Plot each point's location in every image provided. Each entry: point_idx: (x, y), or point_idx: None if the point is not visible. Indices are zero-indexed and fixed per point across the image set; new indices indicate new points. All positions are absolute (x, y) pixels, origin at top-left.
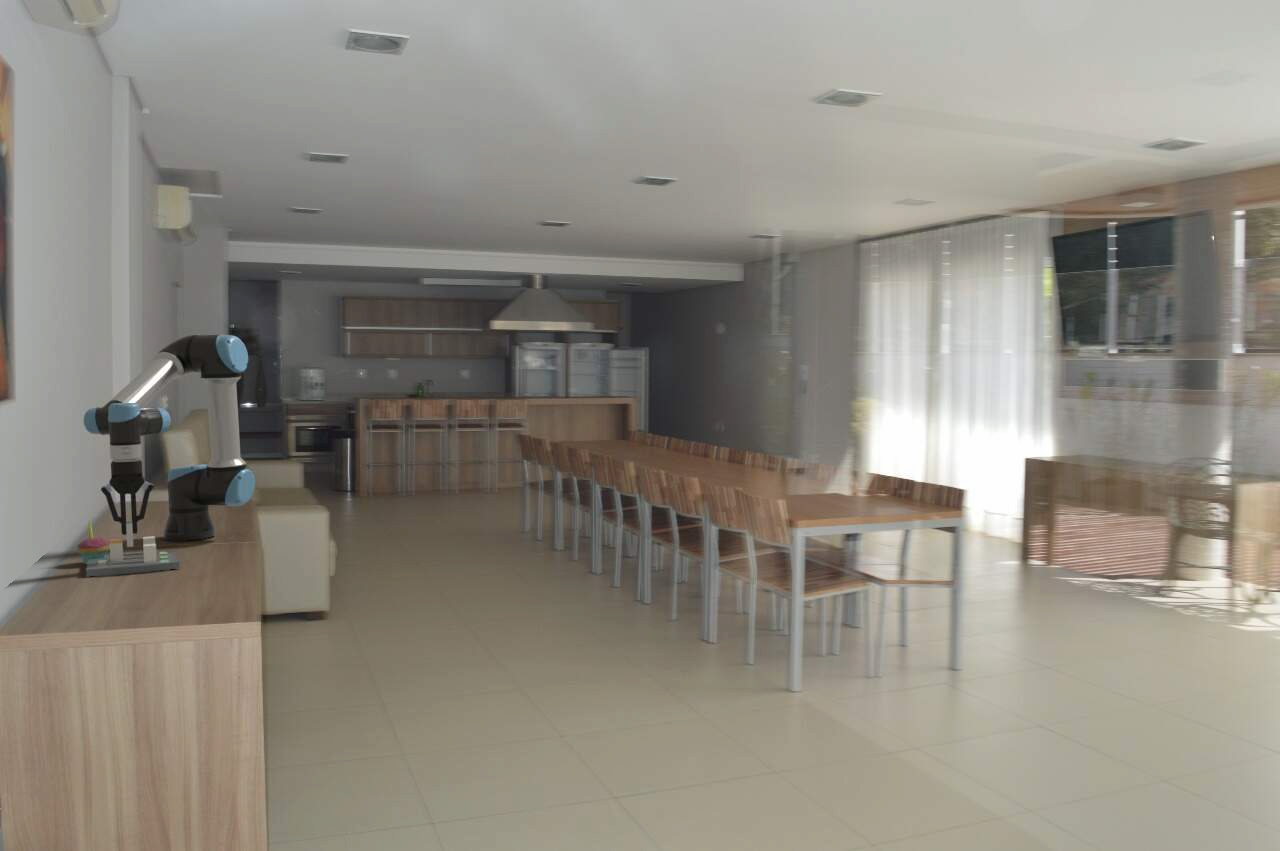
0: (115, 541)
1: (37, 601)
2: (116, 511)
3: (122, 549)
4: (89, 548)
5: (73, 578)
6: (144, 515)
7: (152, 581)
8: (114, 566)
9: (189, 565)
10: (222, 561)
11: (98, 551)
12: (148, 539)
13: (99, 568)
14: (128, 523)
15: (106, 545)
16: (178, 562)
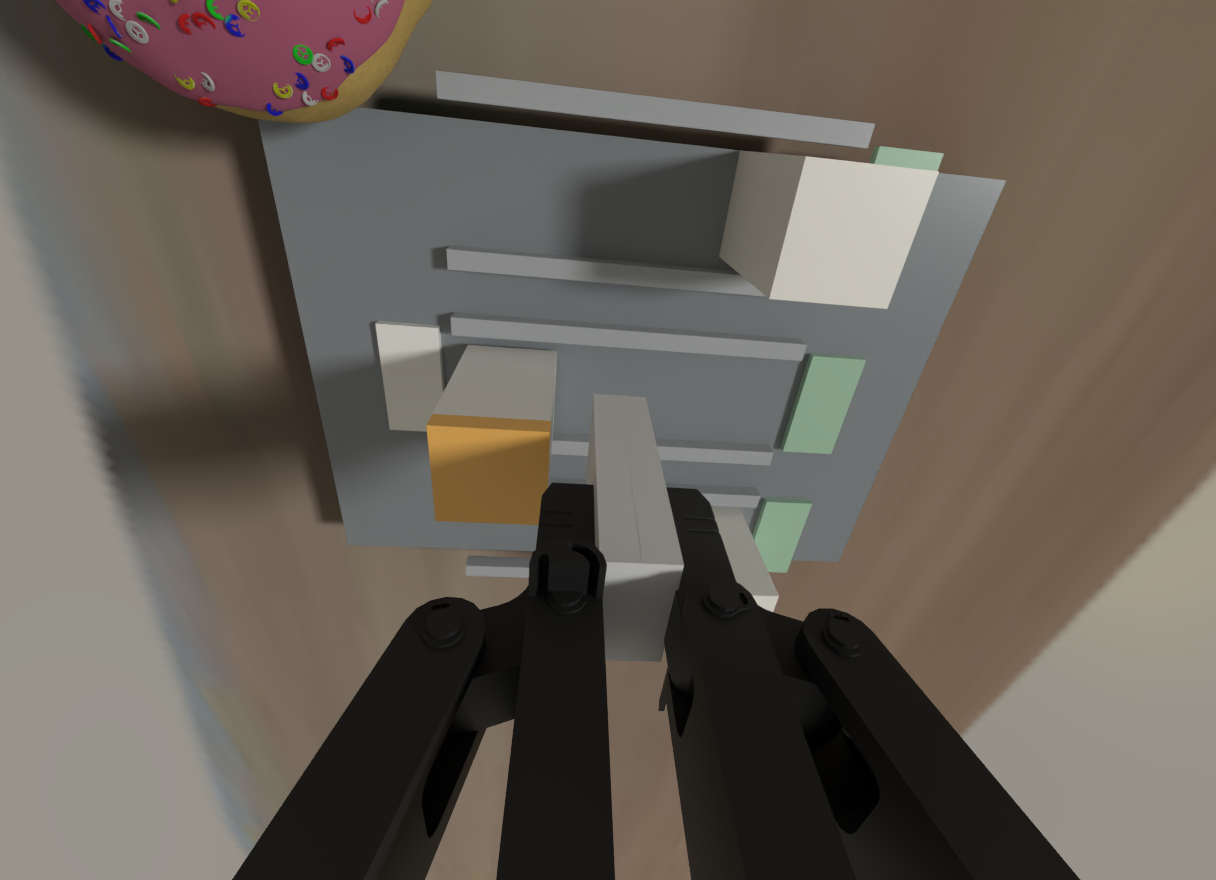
0: (487, 520)
1: (279, 790)
2: (425, 781)
3: (549, 477)
4: (197, 99)
5: (297, 508)
6: (845, 747)
7: (651, 692)
8: (502, 574)
9: (905, 459)
10: (1095, 436)
11: (319, 120)
12: (817, 298)
13: (421, 544)
14: (616, 655)
15: (376, 42)
16: (833, 559)
